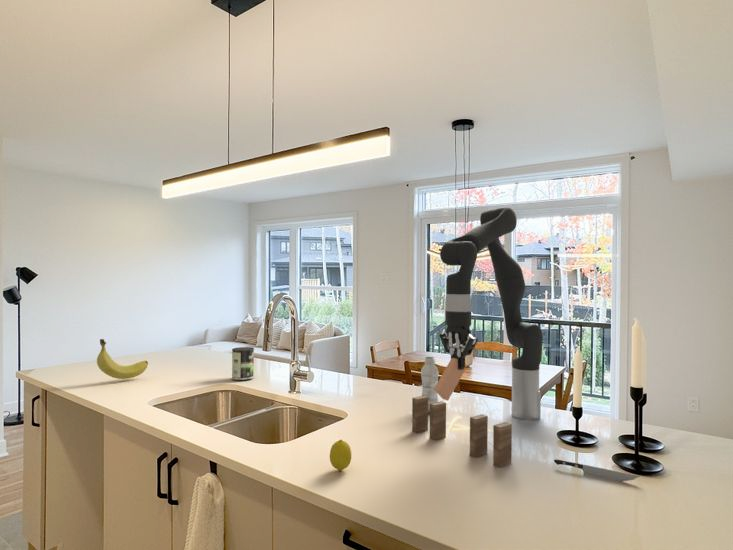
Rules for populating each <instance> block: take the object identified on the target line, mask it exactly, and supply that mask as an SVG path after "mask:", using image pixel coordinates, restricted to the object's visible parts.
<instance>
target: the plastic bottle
mask: <svg viewBox="0 0 733 550" xmlns="http://www.w3.org/2000/svg"><path fill="white" fill-rule="evenodd" d="M435 364H436V357H434V356H425V357H424V364H423V366H422V368H420V369H421V370H420V377H421V386H422V390H421V391H422V392H421V396H427V397H428V414H430V404H431V403H436V402H439V397H438V393H437V392H436V391H435V390H434V388H435V386H436V384H437V383H438V381H439V373H440V372H439V370H438V366H436V365H435Z"/></svg>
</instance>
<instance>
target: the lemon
mask: <svg viewBox="0 0 733 550" xmlns="http://www.w3.org/2000/svg"><path fill="white" fill-rule="evenodd" d="M329 460H330V461H329V462H330V464H331V466H332V467H333V468H334V469H335V470H338V472H342V471H343V470H344V469H347V468H348V467H349V466H350V464H351V461H352V449H351V446H350V444H349V443H348V442H346V441H344V440H343V439H339V440H338V441H335V442H334V443H333V444H332V446H331V448H330V451H329Z"/></svg>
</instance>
